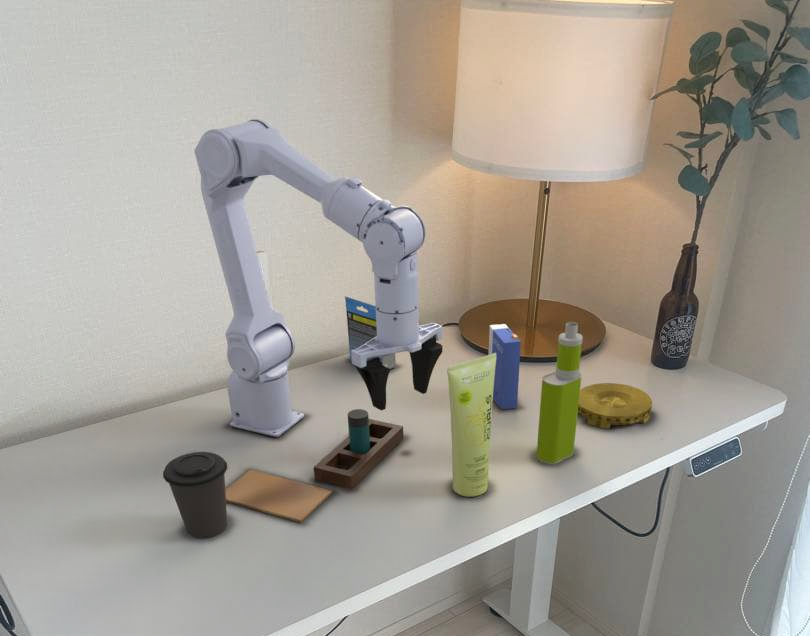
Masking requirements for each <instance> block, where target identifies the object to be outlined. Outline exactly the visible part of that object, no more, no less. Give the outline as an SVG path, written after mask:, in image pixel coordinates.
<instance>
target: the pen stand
mask: <svg viewBox="0 0 810 636" xmlns="http://www.w3.org/2000/svg"><path fill="white" fill-rule="evenodd" d="M369 435H370V450H369V451H368V452H367V453H366V454H365V455H364V454H360V453H356V452H352V451H350V441H349V435H348V436H347V437H346V438H345V439H343V440H342V441H341V442H340V443H339V444H337V446H335V447H334V448H333V449H332V450H331V451H330V452H328V454H327V455H325V456H324V457H323V458H322V459H321V460H320V461H319V462H317V463H316V464H315V465H314V466H313V474H314V475H313V477H314V481H317V482H321V483H325V484H327V485H332V486H336V487H340V488H344V489H348V490H353V489H354V488H355V487H357V485H358V484H359V483H360V482H361V481H362V480H363V479H364V478H365V477H367V476H368V474H369V473H370V472H372V470H373V469H375V467H377V465H379V463H381V461H383V460H384V459H385V458H386V456H387V455H389V453H391V452H392V451H393V450H394V449H395V448H396V447H397V446H398V445H399V444H400V443H401V442H402V441H403V440H404V439H405V438H404V437H405V436H404V435H405V434H404V426H403V425H400V424H394V423H390V422H385V421H381V420H375V419H372V418H369ZM377 437H378V438H377ZM338 467H345V468H348V470H346V469H342V468H338Z"/></svg>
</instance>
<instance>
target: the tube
mask: <svg viewBox="0 0 810 636" xmlns="http://www.w3.org/2000/svg"><path fill="white" fill-rule="evenodd" d="M495 366H496V353H493V354H491V355H484V356H482V357H478V358H475V359H471V360H468V361H464V362H461V363H458V364H455V365H451V366H448V367H447V383H448V391H449V406H450V429H451V457H452V458H451V461H452V462H451V465H452V470H451V471H452V490H453V491H454V492H455V493H456V494H458V495H459V496H463V497H478V496H480V495H482V494H484V493H486V491H487V490H488V486H489V468H490V467H489V466H490V448H491V431H492V430H491V429H492V414H493V401H494V399H493V388H494V376H495Z"/></svg>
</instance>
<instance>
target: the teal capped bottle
mask: <svg viewBox="0 0 810 636" xmlns="http://www.w3.org/2000/svg"><path fill="white" fill-rule="evenodd" d="M369 419H370V417H369V412H368V411H367V410H365V409H361V408H357V409H356V408H355V409H352V410H350V411H348V412H347V425H348V436H349V441H350V451H352V452H356V453H360V454H364V455H365V454H366V453H367V452H368V451H369V450H370V435H369Z"/></svg>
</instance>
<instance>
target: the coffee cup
mask: <svg viewBox="0 0 810 636" xmlns="http://www.w3.org/2000/svg"><path fill="white" fill-rule="evenodd" d="M227 470H228V462H227V461H226V460H225V459H224V458H223V457H222V456H221V455H219V454H217V453H214V452H209V451H193V452H189V453H184V454H181V455H179V456H177V457H175V458H173V459H172V460H170V461H169V462H168V463H167V464H166V466H165V467H164V469H163V472H162V478H163V479H164V481H165V482H166V483H168V485H169V487H170V490H171V493H172V495H173V498H174V501H175V503H176V506H177V508H178V511H179V513H180V516H181V519H182V522H183V525H184V527H185V529H186V532H187V534H188V535H189V536H191V537H193V538H196V539H209V538H213V537H216V536H218V535H220V534H222V533H223V532H224V531H225V530H226V529H227V527H228V516H227V515H228V513H227V501H226V493H225V490H226V478H225V477H226V476H225V475H226V472H227Z"/></svg>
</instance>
